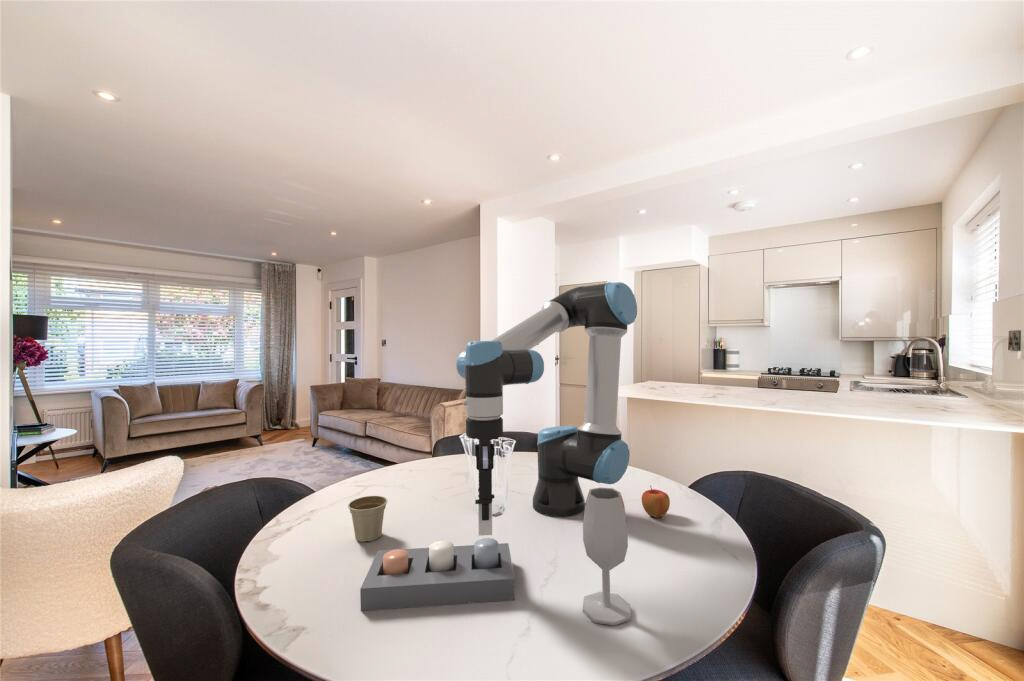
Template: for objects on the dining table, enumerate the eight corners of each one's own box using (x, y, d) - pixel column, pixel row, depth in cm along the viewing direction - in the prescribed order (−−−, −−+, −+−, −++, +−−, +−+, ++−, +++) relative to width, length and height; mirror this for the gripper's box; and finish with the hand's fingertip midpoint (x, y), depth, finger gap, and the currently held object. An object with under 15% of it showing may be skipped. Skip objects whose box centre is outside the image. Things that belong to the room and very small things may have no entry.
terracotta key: (410, 568, 86) (409, 548, 86) (406, 581, 81) (405, 560, 81) (386, 569, 86) (385, 550, 86) (380, 583, 81) (380, 562, 81)
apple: (661, 524, 110) (660, 493, 110) (636, 516, 115) (636, 486, 115) (675, 516, 115) (674, 487, 115) (650, 508, 120) (650, 480, 120)
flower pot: (375, 547, 100) (375, 510, 100) (340, 544, 102) (339, 508, 102) (394, 530, 109) (394, 496, 109) (361, 527, 111) (361, 494, 111)
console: (508, 561, 92) (508, 543, 92) (514, 600, 78) (514, 578, 78) (378, 569, 90) (378, 550, 90) (360, 610, 76) (360, 588, 76)
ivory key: (454, 559, 87) (453, 539, 87) (453, 571, 82) (452, 551, 82) (430, 560, 86) (430, 541, 86) (428, 573, 82) (427, 552, 82)
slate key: (497, 556, 88) (497, 537, 88) (499, 568, 83) (498, 548, 83) (474, 558, 87) (474, 538, 87) (474, 570, 82) (474, 550, 82)
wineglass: (576, 597, 79) (574, 485, 79) (621, 594, 80) (620, 483, 80) (589, 629, 70) (587, 503, 70) (639, 625, 71) (637, 501, 71)
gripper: (466, 412, 91) (467, 521, 91) (465, 423, 78) (466, 550, 78) (500, 411, 92) (501, 519, 92) (505, 422, 79) (506, 548, 79)
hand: (485, 533), depth 85 cm, fingers closed
